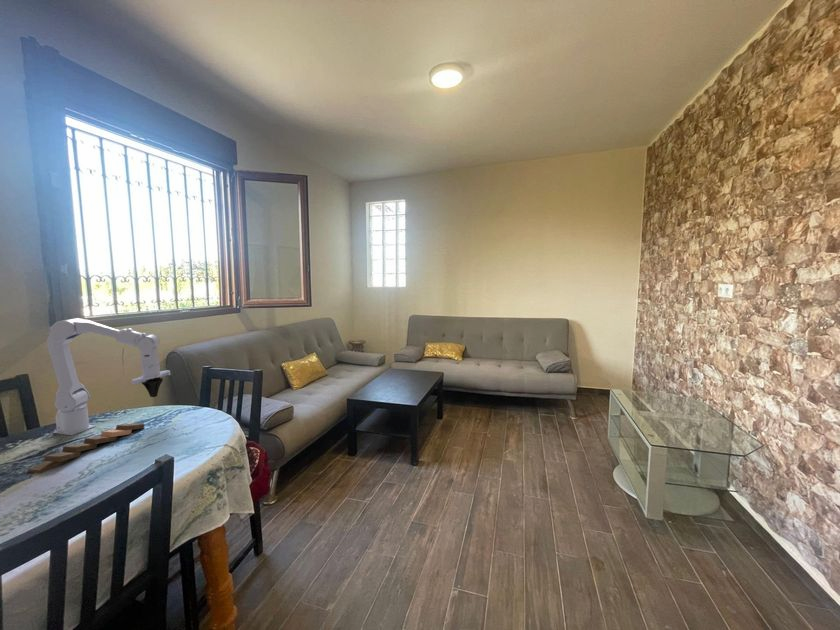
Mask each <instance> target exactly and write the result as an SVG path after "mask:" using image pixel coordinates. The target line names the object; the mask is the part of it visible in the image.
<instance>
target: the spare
mask: <svg viewBox="0 0 840 630" xmlns="http://www.w3.org/2000/svg"><path fill="white" fill-rule="evenodd" d="M126 435H127V436H128V435H132V430H116V429H112V430H109V429H108V430H102V431H101V434H100V436H107V437H114V436H117V437H119V436H126Z"/></svg>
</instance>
